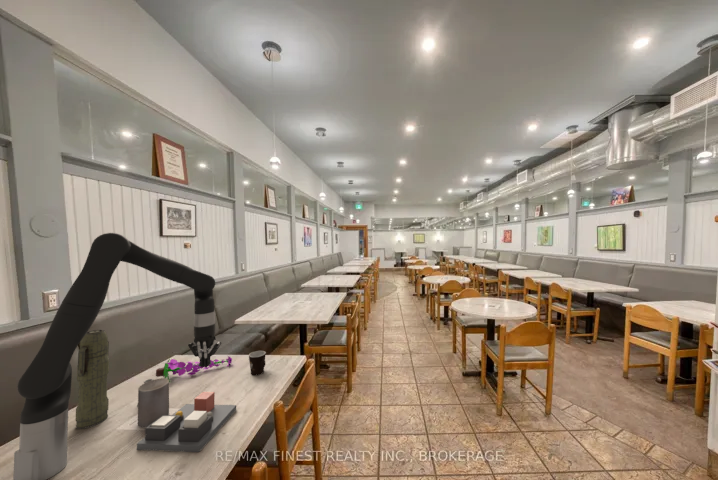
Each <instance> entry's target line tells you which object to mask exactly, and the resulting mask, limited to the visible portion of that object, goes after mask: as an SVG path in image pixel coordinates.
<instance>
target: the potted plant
mask: <svg viewBox="0 0 718 480" xmlns="http://www.w3.org/2000/svg"><path fill="white" fill-rule="evenodd" d="M232 362H233V358H232V357H231V356H230V355H229V356H228V355H227V358H226V359H221V361H220V360H218V359H216V358H215V359H214V360H212V359H210V364H209V366H208V367H201V366H200V361H194V362H192V361H186V362H184V361H178V360H177V359H175V358H169V359H168V361H167V362H165V363H164V366H163V367H158V368H157V369H156V370H155V377H157V378H160V377H162V378H167V379H168V380H169V383H170V381H171V380H170V378H169V372H172V375H174V376H175V375H177V374H178V376H183V375H184V374H186V373H187V375H189V376H194V375H196V373H199V372H200V371H201V369H202V370H209V369H211V368H213V367H219V366H222V365H224V364H225V363H227V366H230V365H231V364H232ZM186 363H187V364H186ZM193 363H195V364H193ZM229 364H230V365H229Z"/></svg>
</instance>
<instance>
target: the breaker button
mask: <svg viewBox="0 0 718 480" xmlns="http://www.w3.org/2000/svg"><path fill="white" fill-rule="evenodd" d="M206 420H207V411H193V412H192V413H191V414H190V415H189V416H188V417H186V418H185V419H184V428H199V427H200V426H201V425H202V424H203V423H204V422H205V421H206Z"/></svg>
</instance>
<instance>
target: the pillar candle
mask: <svg viewBox="0 0 718 480" xmlns="http://www.w3.org/2000/svg"><path fill="white" fill-rule="evenodd" d="M169 381H170V379H169V380H168V377H166V378H165V377H162V378H156V379H154V380H152V381H149V382H146V383H144V382H143V383H142V384H141V385H139V387H138V391H137V392H138V393H137V397H138V398H137V404H138V407H137V426H138V427H139V428H146V427H148V426H149V425H150V424H151V423H153V422H154V421H155V420H157V419H158V418H159V417H161V416H162V415H170V382H169Z"/></svg>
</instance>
